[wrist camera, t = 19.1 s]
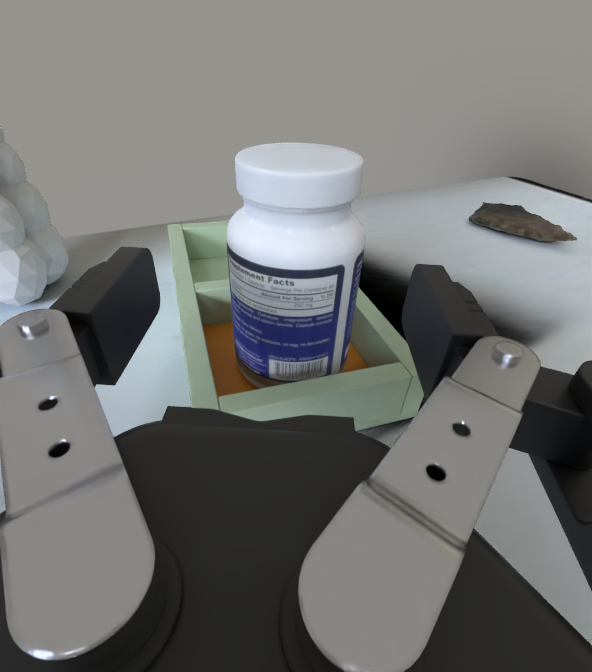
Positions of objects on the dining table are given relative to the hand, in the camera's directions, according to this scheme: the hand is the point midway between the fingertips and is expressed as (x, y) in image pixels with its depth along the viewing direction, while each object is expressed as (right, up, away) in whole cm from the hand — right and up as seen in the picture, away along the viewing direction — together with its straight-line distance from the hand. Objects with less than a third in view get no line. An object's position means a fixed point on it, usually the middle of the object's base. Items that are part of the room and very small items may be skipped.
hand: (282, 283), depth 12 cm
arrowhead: (+23, +9, +26) cm, 36 cm away
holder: (-2, -1, +12) cm, 12 cm away
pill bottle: (0, -3, +8) cm, 9 cm away
